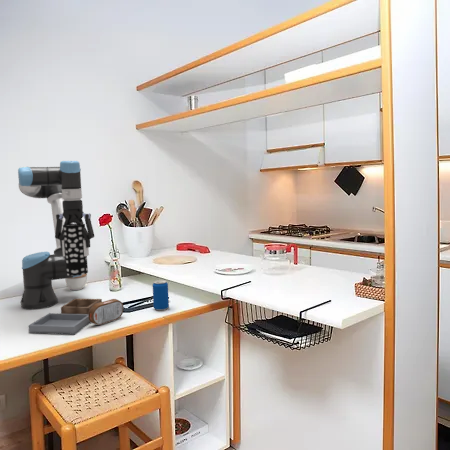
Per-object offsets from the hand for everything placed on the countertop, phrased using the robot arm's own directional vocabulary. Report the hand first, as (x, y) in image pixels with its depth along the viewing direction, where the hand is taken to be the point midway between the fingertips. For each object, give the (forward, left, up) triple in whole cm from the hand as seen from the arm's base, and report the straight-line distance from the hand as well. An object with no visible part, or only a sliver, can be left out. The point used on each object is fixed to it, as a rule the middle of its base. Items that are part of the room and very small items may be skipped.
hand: (76, 255), depth 172 cm
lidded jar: (-23, +41, -26) cm, 54 cm away
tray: (-1, -13, -25) cm, 29 cm away
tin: (+14, -5, -26) cm, 30 cm away
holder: (0, +2, -25) cm, 26 cm away
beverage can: (+31, +12, -26) cm, 42 cm away
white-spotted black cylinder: (0, 0, -8) cm, 8 cm away
